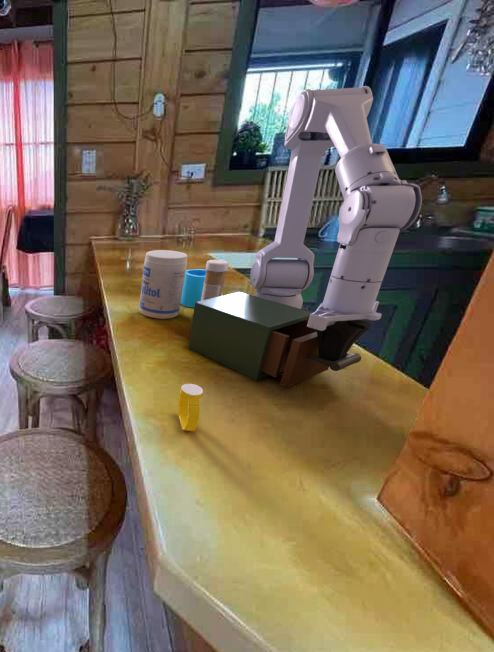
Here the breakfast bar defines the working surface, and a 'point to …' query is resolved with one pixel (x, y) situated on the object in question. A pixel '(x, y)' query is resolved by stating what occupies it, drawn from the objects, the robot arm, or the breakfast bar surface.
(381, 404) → the breakfast bar surface
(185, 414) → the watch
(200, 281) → the mug
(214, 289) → the sprinkles bottle
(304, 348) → the drawer
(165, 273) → the supplement tub
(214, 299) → the cabinet
